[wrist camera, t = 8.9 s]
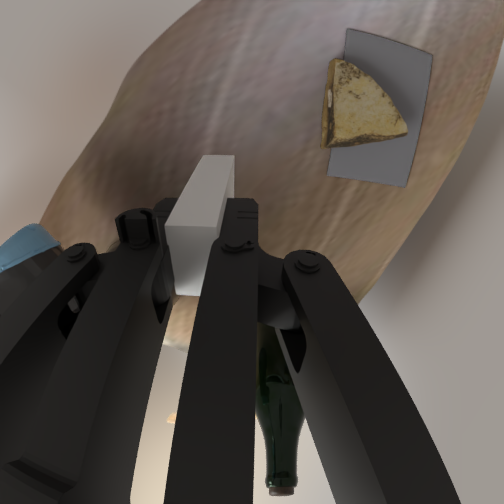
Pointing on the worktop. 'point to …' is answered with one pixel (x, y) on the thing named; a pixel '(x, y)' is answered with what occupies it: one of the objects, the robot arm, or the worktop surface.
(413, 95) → the mat
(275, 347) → the dark green wine bottle
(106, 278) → the robot arm
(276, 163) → the worktop surface
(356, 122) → the yellow wedge
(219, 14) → the worktop surface
